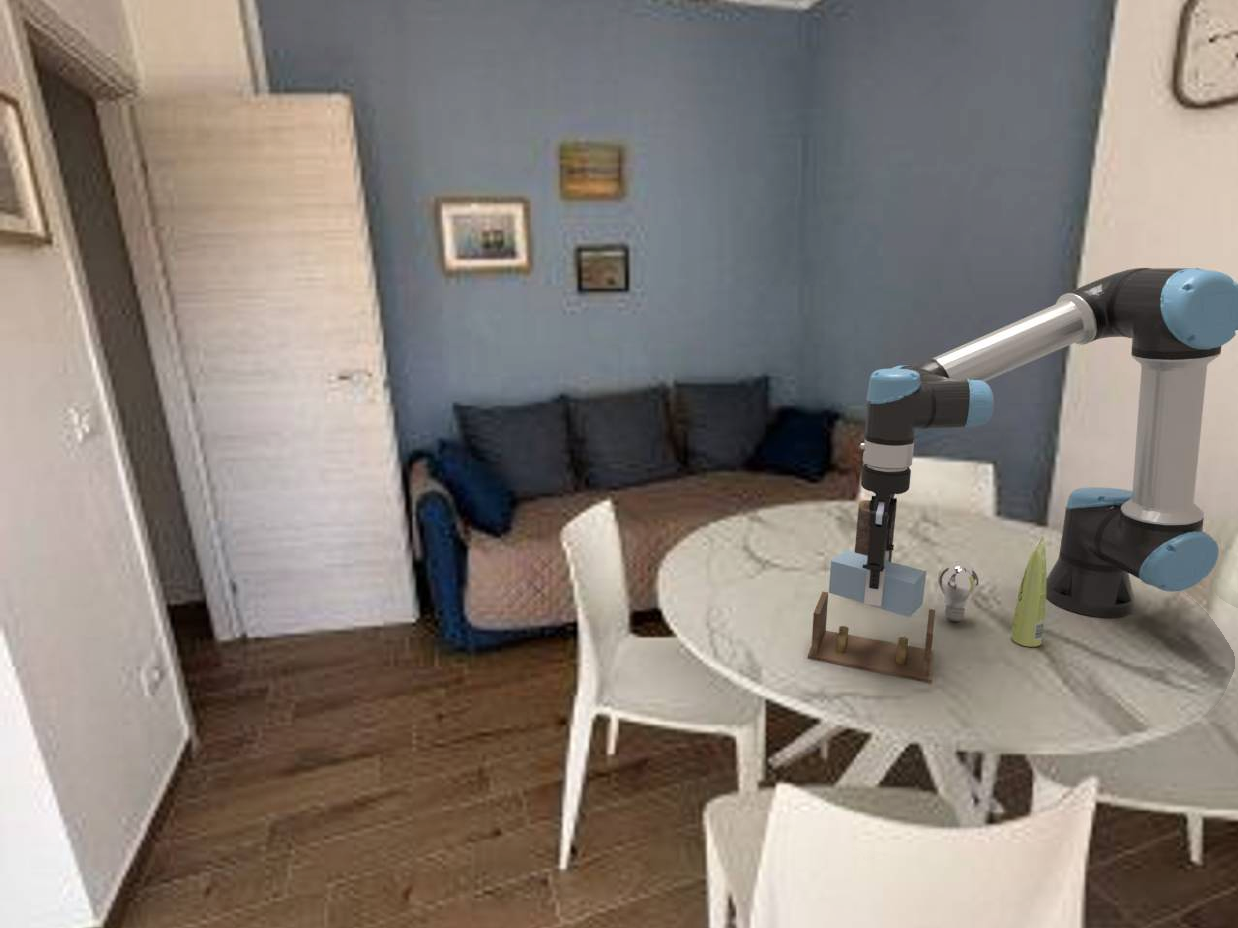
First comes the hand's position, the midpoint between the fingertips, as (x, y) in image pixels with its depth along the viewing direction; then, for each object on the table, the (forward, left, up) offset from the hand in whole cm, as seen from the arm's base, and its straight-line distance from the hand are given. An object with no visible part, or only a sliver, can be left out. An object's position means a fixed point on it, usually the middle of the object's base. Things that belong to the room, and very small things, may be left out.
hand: (875, 594), depth 125 cm
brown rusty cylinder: (+3, -25, -12) cm, 28 cm away
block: (0, 0, -1) cm, 1 cm away
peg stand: (0, 0, -12) cm, 12 cm away
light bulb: (-13, -19, -12) cm, 26 cm away
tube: (-25, -16, -12) cm, 32 cm away
